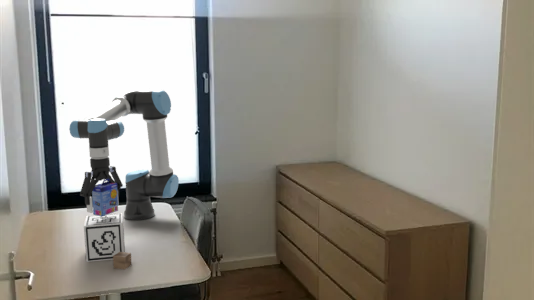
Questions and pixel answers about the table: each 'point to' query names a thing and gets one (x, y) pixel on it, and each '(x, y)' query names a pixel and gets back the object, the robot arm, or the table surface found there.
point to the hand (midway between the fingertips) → (103, 208)
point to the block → (103, 236)
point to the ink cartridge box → (105, 198)
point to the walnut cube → (122, 260)
